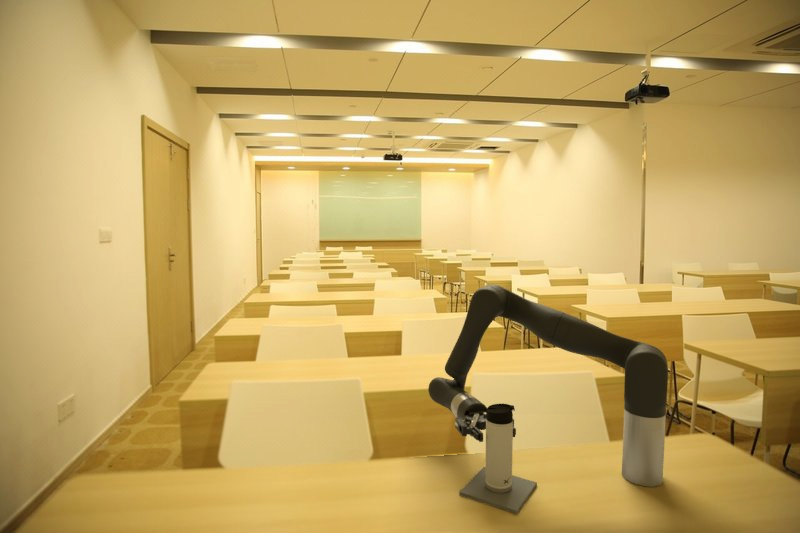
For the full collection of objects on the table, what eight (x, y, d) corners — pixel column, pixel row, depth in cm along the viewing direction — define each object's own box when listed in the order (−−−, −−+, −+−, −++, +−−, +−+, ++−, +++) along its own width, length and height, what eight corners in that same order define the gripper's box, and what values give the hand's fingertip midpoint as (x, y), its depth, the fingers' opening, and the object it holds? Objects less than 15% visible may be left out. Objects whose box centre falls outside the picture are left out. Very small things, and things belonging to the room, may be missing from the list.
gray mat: (483, 469, 126) (483, 466, 126) (536, 485, 118) (536, 482, 118) (459, 495, 114) (459, 491, 114) (516, 514, 107) (516, 510, 107)
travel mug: (513, 495, 113) (515, 411, 111) (484, 492, 114) (485, 409, 112) (512, 481, 119) (514, 401, 117) (485, 478, 120) (486, 400, 118)
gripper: (444, 400, 129) (471, 424, 113) (493, 394, 133) (524, 417, 117) (444, 427, 129) (470, 455, 114) (492, 420, 133) (524, 446, 118)
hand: (498, 435), depth 116 cm, fingers open, 8 cm apart
